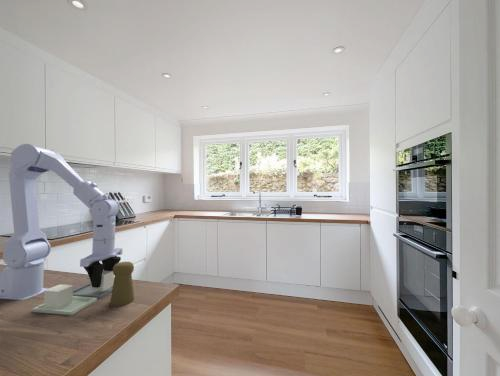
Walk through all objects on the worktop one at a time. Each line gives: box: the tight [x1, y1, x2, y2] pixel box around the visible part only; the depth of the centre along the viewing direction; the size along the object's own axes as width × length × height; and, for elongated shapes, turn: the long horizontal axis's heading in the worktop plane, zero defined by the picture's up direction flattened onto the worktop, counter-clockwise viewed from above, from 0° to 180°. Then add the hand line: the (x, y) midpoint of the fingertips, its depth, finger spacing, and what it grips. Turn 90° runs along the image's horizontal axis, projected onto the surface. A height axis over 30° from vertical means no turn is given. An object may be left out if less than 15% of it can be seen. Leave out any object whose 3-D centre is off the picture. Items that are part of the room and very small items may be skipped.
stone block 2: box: [90, 270, 115, 291], centre depth 71 cm, size 4×4×4 cm
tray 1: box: [31, 296, 98, 316], centre depth 62 cm, size 11×8×1 cm
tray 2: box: [73, 281, 113, 300], centre depth 71 cm, size 11×9×1 cm
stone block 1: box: [43, 284, 74, 309], centre depth 62 cm, size 4×4×4 cm
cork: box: [109, 261, 135, 307], centre depth 65 cm, size 6×6×11 cm
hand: (102, 284), depth 71 cm, fingers closed on stone block 2, 4 cm apart
